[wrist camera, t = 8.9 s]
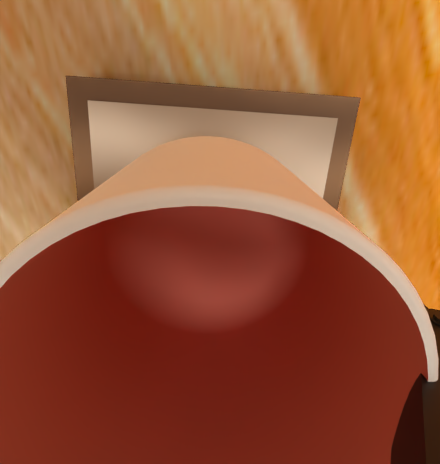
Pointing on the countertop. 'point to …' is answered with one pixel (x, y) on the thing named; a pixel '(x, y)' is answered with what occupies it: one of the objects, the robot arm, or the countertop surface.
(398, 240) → the countertop surface
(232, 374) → the cup
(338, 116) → the stand
